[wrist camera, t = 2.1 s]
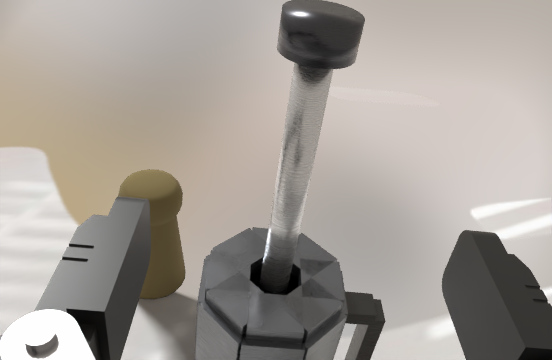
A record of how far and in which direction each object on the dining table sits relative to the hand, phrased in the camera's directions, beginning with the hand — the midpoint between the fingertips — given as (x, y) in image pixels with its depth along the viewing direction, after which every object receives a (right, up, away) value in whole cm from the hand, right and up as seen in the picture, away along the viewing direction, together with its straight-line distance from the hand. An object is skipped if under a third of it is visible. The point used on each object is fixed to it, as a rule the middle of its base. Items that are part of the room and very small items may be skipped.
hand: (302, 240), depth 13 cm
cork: (-12, -7, +34) cm, 37 cm away
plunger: (-1, -8, +21) cm, 22 cm away
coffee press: (-1, -15, +26) cm, 30 cm away
